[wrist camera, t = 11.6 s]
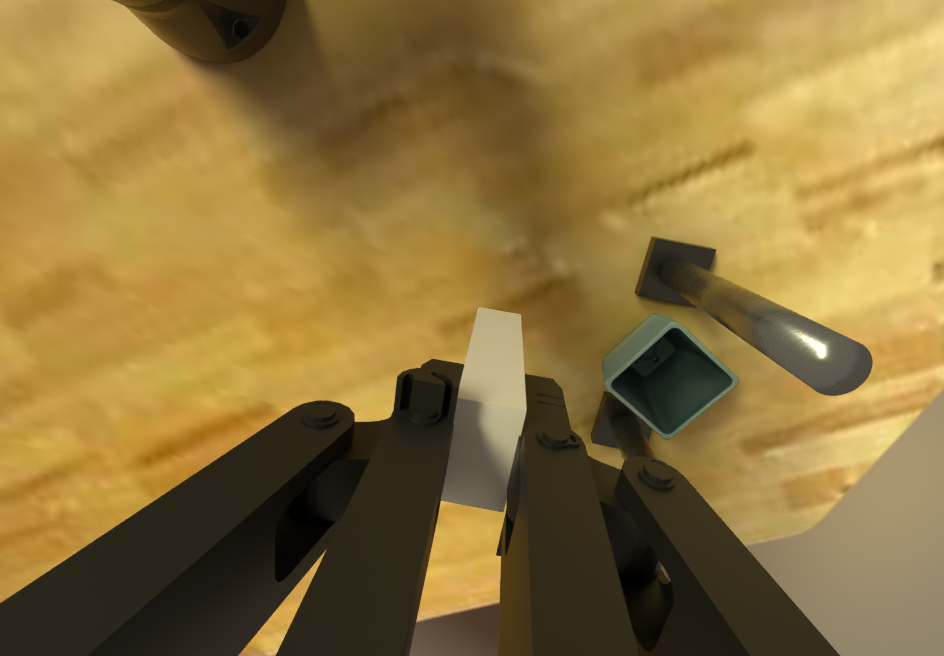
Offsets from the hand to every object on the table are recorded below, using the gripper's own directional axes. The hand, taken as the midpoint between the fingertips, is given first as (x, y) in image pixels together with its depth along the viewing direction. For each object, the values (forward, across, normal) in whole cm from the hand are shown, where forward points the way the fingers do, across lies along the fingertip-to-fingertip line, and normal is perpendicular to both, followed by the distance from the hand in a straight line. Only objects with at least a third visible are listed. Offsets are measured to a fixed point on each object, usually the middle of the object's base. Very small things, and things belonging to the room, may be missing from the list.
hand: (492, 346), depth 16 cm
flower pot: (+33, +18, -10) cm, 39 cm away
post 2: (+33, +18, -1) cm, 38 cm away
